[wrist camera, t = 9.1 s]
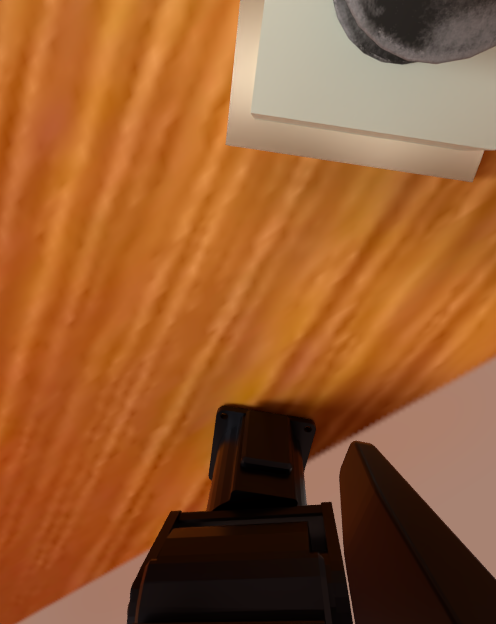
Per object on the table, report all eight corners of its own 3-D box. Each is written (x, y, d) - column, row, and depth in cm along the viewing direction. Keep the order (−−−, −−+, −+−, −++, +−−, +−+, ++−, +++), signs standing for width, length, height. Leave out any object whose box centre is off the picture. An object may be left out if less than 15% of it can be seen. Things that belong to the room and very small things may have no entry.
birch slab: (447, 178, 18) (472, 182, 16) (231, 145, 18) (225, 144, 16) (553, -129, 14) (610, -186, 11) (265, -171, 14) (264, -237, 11)
